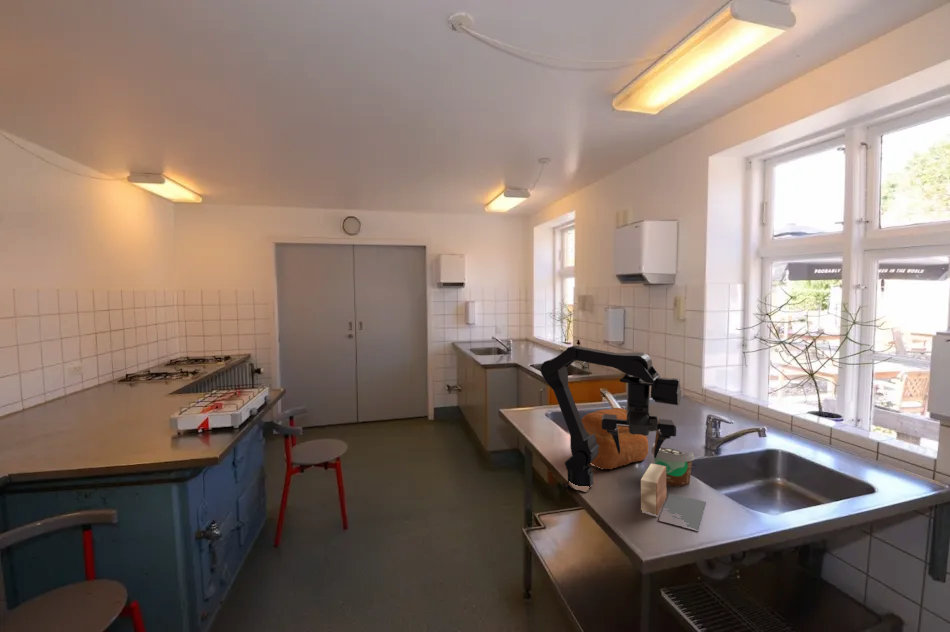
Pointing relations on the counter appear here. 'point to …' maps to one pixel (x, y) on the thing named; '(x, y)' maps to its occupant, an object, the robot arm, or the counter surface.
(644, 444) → the bread
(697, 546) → the counter surface
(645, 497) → the beige flat block
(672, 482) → the food container
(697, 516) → the rubber mat
